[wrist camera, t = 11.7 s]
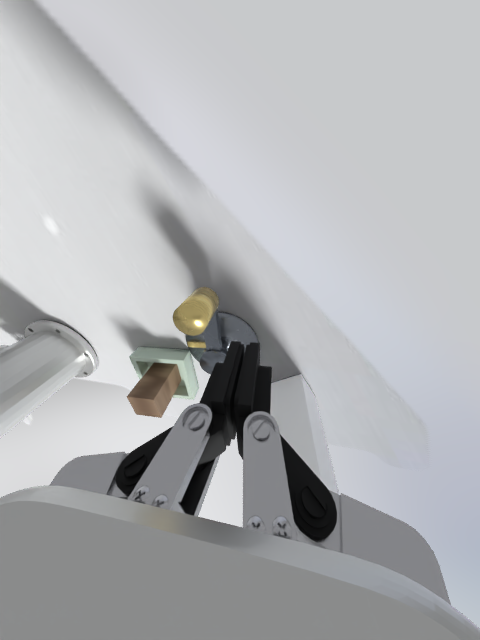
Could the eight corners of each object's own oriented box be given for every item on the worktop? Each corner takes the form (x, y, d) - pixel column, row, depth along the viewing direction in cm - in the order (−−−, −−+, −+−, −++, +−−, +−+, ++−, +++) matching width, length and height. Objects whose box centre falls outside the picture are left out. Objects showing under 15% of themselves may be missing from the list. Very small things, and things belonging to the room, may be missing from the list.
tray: (154, 383, 35) (146, 394, 33) (139, 346, 31) (129, 356, 28) (198, 387, 34) (193, 399, 32) (189, 349, 29) (183, 360, 27)
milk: (301, 373, 28) (363, 693, 9) (316, 397, 30) (391, 696, 11) (266, 383, 31) (259, 658, 12) (282, 405, 33) (299, 667, 14)
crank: (232, 369, 26) (223, 403, 21) (205, 367, 26) (190, 400, 22) (224, 283, 19) (209, 306, 15) (188, 283, 20) (163, 305, 15)
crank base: (194, 368, 31) (187, 380, 29) (180, 311, 26) (171, 320, 23) (258, 372, 29) (257, 386, 27) (258, 312, 24) (257, 323, 22)
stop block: (160, 377, 33) (136, 414, 27) (154, 361, 31) (126, 396, 25) (181, 379, 32) (161, 417, 26) (176, 363, 30) (153, 399, 24)
